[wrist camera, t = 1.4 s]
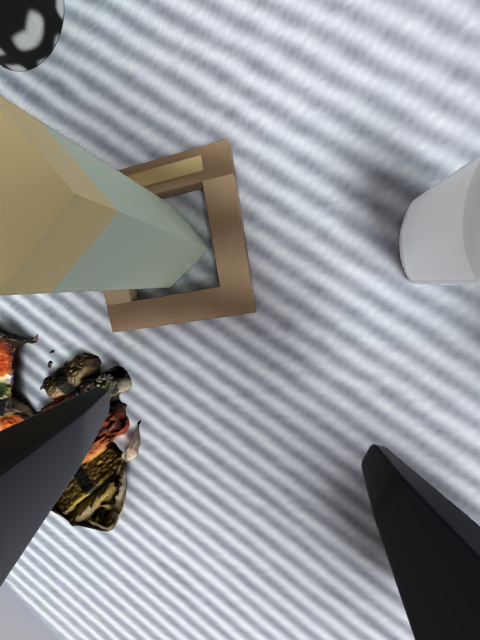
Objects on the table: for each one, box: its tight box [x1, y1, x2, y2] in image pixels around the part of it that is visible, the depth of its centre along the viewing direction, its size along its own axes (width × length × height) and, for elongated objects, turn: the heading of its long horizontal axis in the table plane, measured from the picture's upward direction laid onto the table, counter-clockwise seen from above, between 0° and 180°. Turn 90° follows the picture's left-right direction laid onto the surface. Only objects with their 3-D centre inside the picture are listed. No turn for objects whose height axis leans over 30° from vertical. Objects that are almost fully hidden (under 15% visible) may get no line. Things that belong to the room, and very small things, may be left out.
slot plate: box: [104, 139, 256, 332], centre depth 20 cm, size 12×12×1 cm
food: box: [0, 329, 141, 531], centre depth 25 cm, size 22×19×4 cm
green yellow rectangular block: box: [0, 95, 210, 295], centre depth 14 cm, size 4×4×13 cm
